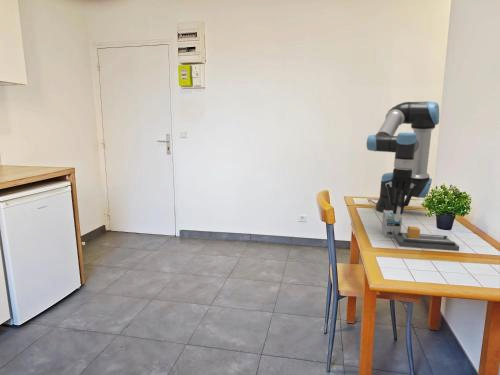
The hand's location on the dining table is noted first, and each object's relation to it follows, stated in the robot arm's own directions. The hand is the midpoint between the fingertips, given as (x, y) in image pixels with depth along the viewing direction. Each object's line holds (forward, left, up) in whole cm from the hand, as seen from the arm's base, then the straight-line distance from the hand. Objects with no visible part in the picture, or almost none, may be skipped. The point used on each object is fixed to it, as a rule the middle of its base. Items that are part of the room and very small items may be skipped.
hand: (396, 220), depth 148 cm
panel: (0, +13, -10) cm, 17 cm away
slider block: (0, +8, -8) cm, 11 cm away
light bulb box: (-11, +1, -11) cm, 15 cm away
